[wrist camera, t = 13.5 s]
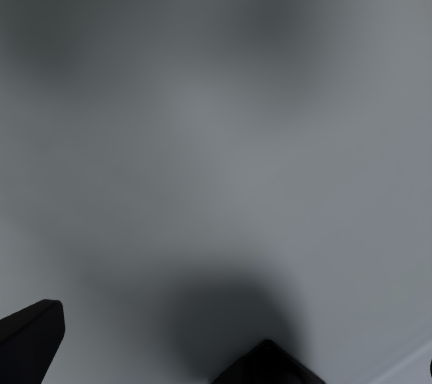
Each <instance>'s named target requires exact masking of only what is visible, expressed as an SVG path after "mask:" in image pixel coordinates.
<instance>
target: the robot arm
mask: <svg viewBox="0 0 432 384" xmlns="http://www.w3.org/2000/svg"><path fill="white" fill-rule="evenodd" d="M64 334H65V321H64V312H63V305H62V303H61V301H59V300H50V299H44V300H41V301H39V302H37V303H35V304H33V305H30V306H28V307H26V308H24V309H22V310H20V311H18V312H16V313H13V314H11V315H9V316H7V317H5V318H3V319H1V320H0V384H41V383H42V381H43V379H44V376H45V374H46V372H47V370H48V368H49V366H50V364H51V362H52V360H53V358H54V356H55V354H56V352H57V350H58V348H59V346H60V344H61V342H62V340H63V337H64ZM266 347H271V348H266ZM430 372H431V376H432V360H431V364H430ZM211 384H323V383H322V382H321V381H320V380H318V379H317V378H316V377H315V376H314V375H312V374H311V373H310V372H309V371H308V370H306V369H305V368H304V367H303V366H302V365H300V364H299V363H298V362H297V361H296V360H294V359H293V358H292V357H291V356H290V355H288V354H287V353H286V352H285V351H284V350H283V349H281V348H280V347H279V346H278V345H277V344H275V343H274V342H273V341H271V340H264V341H263V342H261V343H260V344H259V345H258V346H256V347H255V348H254V349H253V350H251V351H250V352H249V353H248V354H246V355H245V356H243V357H241V358H240V359H238V360H237V361H236V362H235V363H234V364H232V365H231V366H230V367H229V368H227V369H226V370H225V371H224V372H222V373H221V374H220V376H219V377H218V378H217V379H216V380H214V381H213V382H212V383H211Z"/></svg>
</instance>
